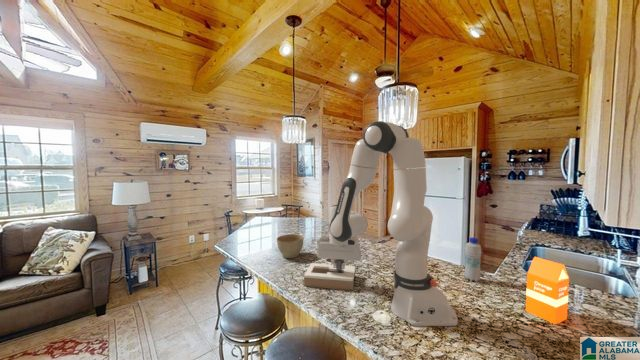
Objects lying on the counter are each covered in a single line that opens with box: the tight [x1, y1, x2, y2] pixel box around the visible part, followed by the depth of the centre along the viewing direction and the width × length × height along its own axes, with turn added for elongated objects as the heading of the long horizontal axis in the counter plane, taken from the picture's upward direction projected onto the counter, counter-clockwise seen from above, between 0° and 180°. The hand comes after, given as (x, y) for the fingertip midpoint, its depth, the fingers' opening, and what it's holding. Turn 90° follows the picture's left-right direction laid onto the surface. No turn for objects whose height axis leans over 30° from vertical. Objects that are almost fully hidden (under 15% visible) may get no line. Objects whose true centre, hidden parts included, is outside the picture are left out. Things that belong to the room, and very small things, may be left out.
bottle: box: [464, 237, 482, 283], centre depth 117 cm, size 7×7×20 cm
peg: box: [337, 259, 343, 273], centre depth 117 cm, size 5×5×11 cm
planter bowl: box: [276, 234, 305, 259], centre depth 151 cm, size 16×16×11 cm
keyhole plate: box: [303, 262, 356, 291], centre depth 118 cm, size 22×14×5 cm, turn 78°
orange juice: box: [525, 256, 570, 325], centre depth 89 cm, size 8×9×20 cm
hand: (339, 267), depth 117 cm, fingers closed on peg, 2 cm apart
